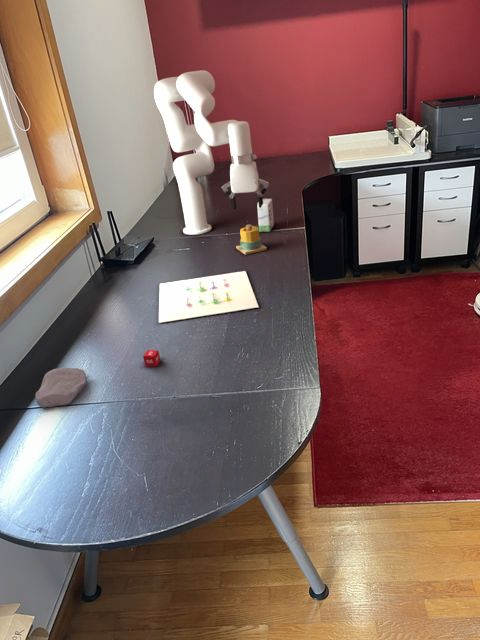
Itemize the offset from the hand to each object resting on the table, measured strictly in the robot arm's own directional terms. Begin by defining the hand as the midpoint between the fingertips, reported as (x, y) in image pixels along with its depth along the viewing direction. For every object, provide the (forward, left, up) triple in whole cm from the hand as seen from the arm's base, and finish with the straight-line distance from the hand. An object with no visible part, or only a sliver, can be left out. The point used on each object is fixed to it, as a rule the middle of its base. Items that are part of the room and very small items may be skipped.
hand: (247, 207), depth 189 cm
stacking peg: (0, 0, -16) cm, 16 cm away
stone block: (+62, -78, -16) cm, 101 cm away
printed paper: (+30, -30, -16) cm, 45 cm away
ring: (0, 0, -12) cm, 12 cm away
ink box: (-19, +16, -16) cm, 30 cm away
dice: (+61, -56, -16) cm, 84 cm away
